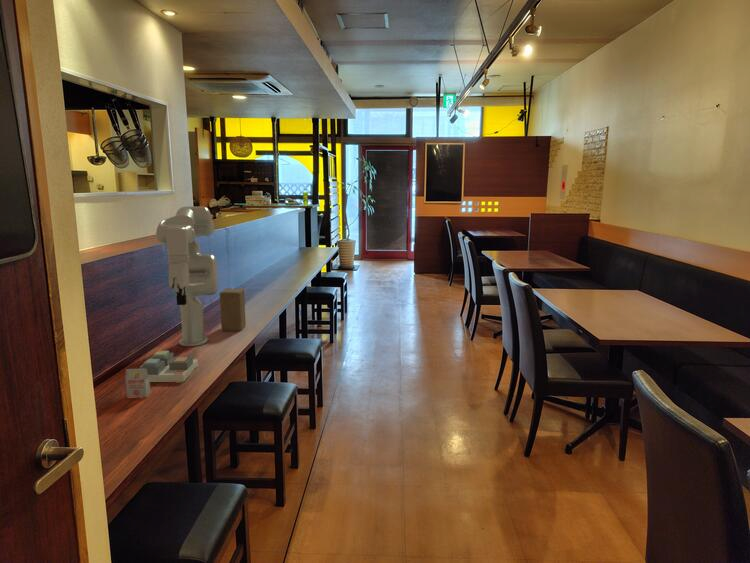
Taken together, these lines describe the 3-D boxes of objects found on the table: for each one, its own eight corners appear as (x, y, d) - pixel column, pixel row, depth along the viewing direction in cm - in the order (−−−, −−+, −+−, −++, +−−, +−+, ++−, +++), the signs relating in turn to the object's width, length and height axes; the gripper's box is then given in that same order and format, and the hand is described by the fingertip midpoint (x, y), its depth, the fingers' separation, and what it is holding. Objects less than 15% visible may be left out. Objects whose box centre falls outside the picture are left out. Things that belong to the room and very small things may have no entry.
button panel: (157, 366, 191) (156, 352, 190) (198, 366, 192) (197, 352, 191) (139, 382, 176) (138, 367, 175) (184, 382, 176) (182, 367, 175)
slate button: (149, 364, 180) (148, 358, 180) (160, 364, 181) (159, 358, 180) (144, 369, 176) (143, 362, 176) (155, 368, 176) (155, 362, 176)
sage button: (158, 356, 189) (158, 350, 189) (169, 356, 189) (169, 350, 189) (154, 360, 185) (153, 354, 185) (165, 360, 185) (164, 354, 185)
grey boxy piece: (130, 394, 166) (127, 367, 164) (150, 393, 167) (148, 366, 165) (126, 399, 163) (123, 371, 161) (146, 398, 163) (144, 370, 161)
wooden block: (241, 331, 239) (239, 292, 235) (221, 331, 239) (218, 292, 235) (246, 325, 249) (244, 288, 245) (227, 325, 249) (224, 288, 245)
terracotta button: (177, 363, 185) (177, 357, 185) (188, 363, 186) (188, 357, 185) (173, 367, 181) (173, 361, 181) (185, 367, 181) (184, 361, 181)
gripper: (175, 256, 193) (179, 300, 197) (161, 261, 178) (164, 309, 182) (194, 256, 193) (197, 300, 197) (181, 261, 179) (184, 309, 182)
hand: (181, 304), depth 189 cm, fingers closed
